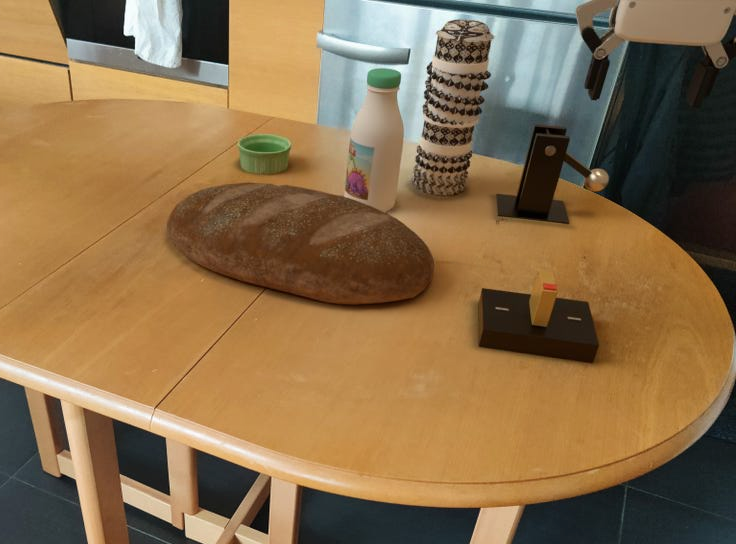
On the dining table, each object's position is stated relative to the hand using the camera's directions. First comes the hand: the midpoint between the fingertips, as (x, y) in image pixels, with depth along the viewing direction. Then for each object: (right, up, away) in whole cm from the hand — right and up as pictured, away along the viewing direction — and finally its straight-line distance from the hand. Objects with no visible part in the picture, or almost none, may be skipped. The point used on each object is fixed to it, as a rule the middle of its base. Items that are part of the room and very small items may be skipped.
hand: (641, 100), depth 74 cm
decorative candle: (-11, 0, +40) cm, 42 cm away
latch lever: (+5, 0, +29) cm, 29 cm away
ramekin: (-39, +5, +47) cm, 61 cm away
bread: (-35, -14, +22) cm, 44 cm away
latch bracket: (+1, -5, +34) cm, 34 cm away
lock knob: (-9, -22, +6) cm, 24 cm away
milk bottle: (-23, -4, +35) cm, 42 cm away
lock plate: (-9, -24, +8) cm, 27 cm away
